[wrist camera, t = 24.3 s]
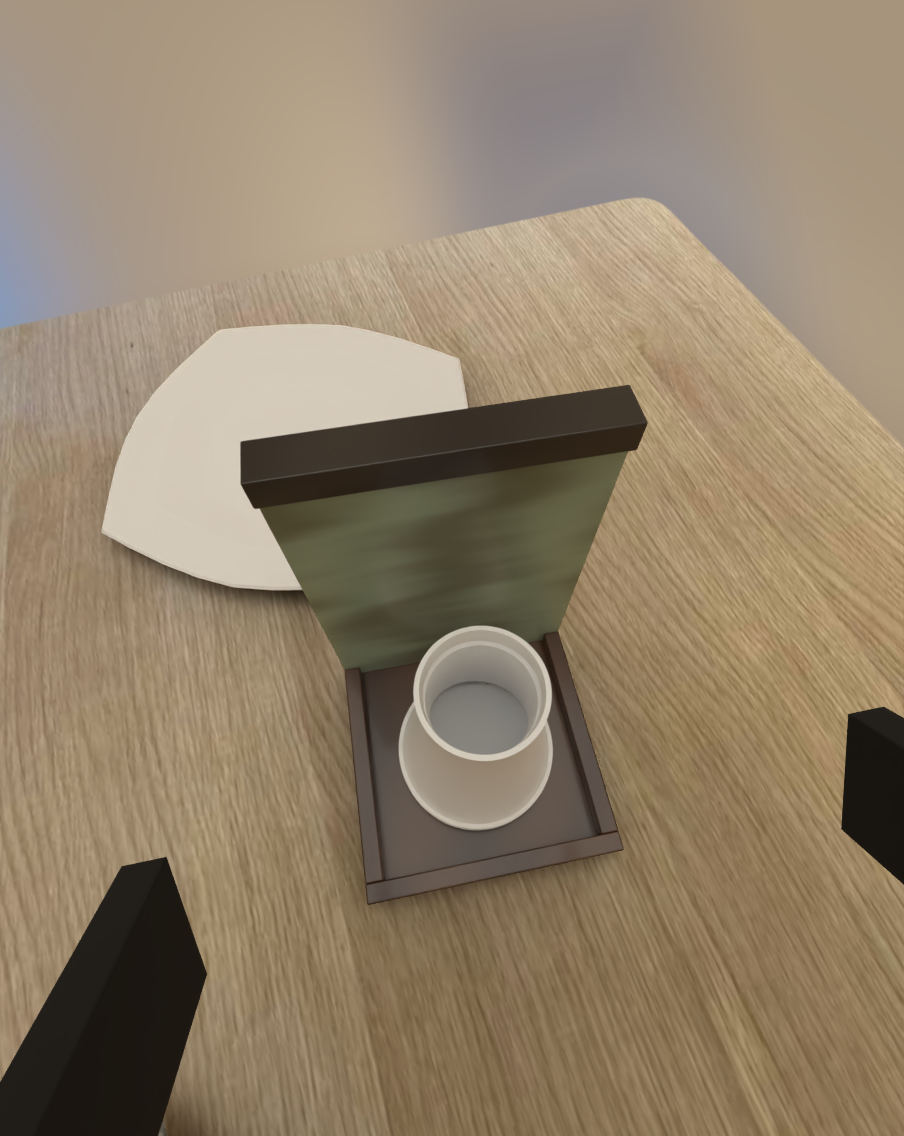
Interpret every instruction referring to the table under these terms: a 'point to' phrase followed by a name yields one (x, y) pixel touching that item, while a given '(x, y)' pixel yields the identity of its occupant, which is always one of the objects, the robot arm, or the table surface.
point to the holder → (451, 597)
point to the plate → (255, 437)
